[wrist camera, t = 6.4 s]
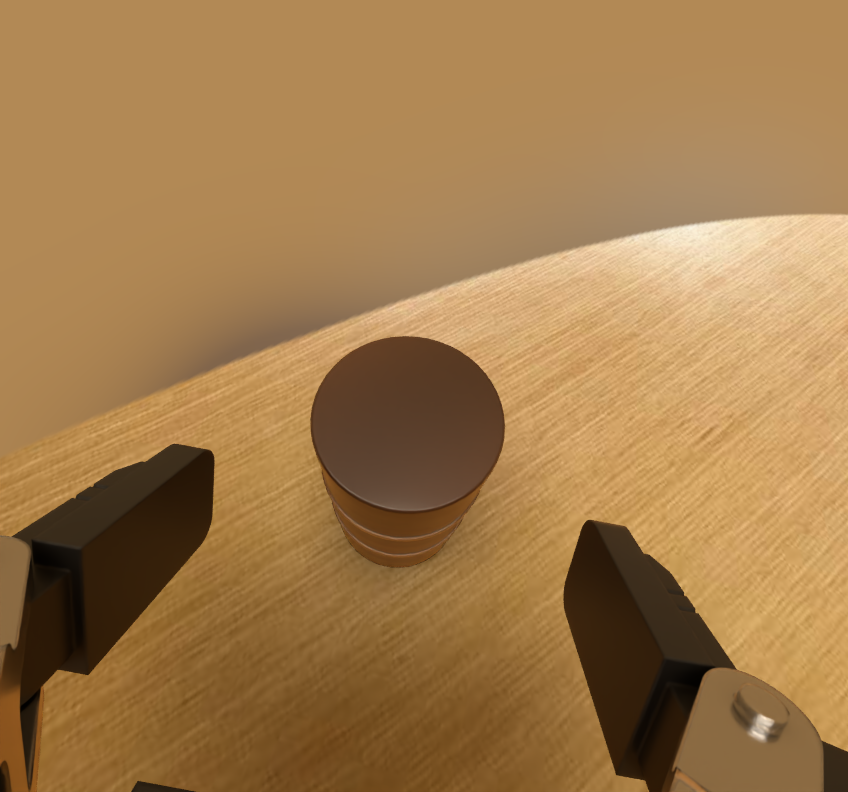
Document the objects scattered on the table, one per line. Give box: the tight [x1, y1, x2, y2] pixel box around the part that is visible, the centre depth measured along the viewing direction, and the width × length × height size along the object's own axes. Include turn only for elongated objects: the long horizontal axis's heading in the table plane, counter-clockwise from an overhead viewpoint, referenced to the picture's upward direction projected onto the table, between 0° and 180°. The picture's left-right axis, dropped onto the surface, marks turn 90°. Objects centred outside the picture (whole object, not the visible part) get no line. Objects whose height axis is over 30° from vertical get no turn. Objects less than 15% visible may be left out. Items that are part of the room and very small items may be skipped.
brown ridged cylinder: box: [311, 336, 505, 567], centre depth 14 cm, size 4×4×8 cm
